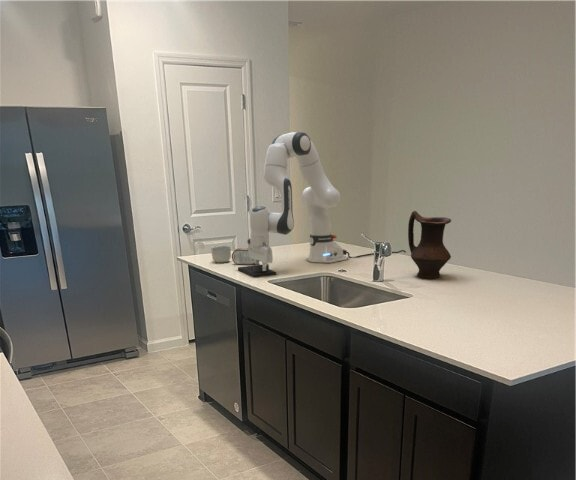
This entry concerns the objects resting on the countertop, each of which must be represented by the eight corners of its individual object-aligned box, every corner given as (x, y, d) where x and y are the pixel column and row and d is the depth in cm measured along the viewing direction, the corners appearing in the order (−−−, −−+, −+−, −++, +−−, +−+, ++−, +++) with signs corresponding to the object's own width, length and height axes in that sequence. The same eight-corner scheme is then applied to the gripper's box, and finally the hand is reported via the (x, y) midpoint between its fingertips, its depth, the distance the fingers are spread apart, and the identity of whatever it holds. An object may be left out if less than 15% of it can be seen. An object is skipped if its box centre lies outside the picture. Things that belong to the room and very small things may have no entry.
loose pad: (264, 270, 284) (263, 261, 282) (276, 274, 273) (275, 265, 272) (243, 272, 279) (242, 263, 277) (254, 277, 268) (254, 268, 266)
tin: (259, 263, 299) (259, 248, 296) (258, 265, 296) (258, 249, 293) (232, 263, 301) (231, 248, 297) (231, 265, 298) (230, 249, 295)
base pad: (258, 267, 290) (258, 264, 289) (267, 271, 282) (267, 268, 281) (237, 270, 285) (237, 267, 284) (246, 273, 277) (245, 270, 276)
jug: (453, 274, 266) (460, 210, 254) (442, 282, 252) (449, 214, 240) (411, 270, 276) (416, 208, 264) (399, 277, 262) (403, 212, 250)
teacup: (233, 262, 304) (232, 248, 301) (214, 264, 300) (213, 249, 297) (226, 258, 316) (225, 244, 313) (208, 260, 312) (207, 245, 309)
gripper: (275, 243, 261) (276, 272, 267) (256, 238, 278) (257, 265, 283) (263, 244, 259) (264, 274, 264) (245, 239, 275) (246, 267, 281)
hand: (261, 269), depth 274 cm, fingers open, 5 cm apart
